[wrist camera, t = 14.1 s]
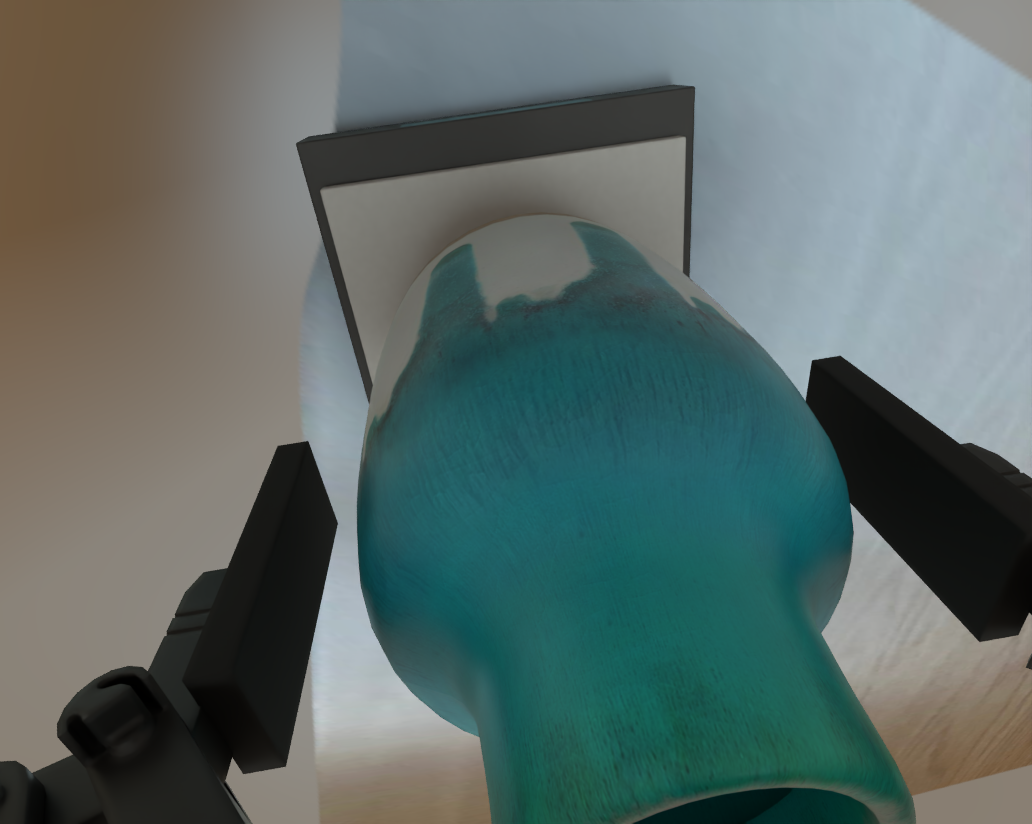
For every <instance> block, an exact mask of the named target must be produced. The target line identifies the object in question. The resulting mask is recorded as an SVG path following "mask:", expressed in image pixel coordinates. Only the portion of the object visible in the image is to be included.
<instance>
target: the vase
mask: <svg viewBox="0 0 1032 824" xmlns="http://www.w3.org/2000/svg"><path fill="white" fill-rule="evenodd" d="M853 534H854V531H853V523H852V515H851V507H850V500H849V493H848V488H847V483H846V479H845V476H844V474H843V471H842V468H841V465H840V463H839V460H838V457H837V454H836V452H835V450H834V447H833V445H832V443H831V441H830V439H829V437H828V435H827V434H826V432H825V431H824V429H823V428H822V426H821V425H820V423H819V421H818V420H817V418H816V417H815V415H814V414H813V412H812V411H811V409H810V408H809V406H808V405H807V403H806V402H805V400H804V398H803V397H802V395H801V394H800V392H799V391H798V390H797V388H796V387H795V386H794V384H793V383H792V382H791V380H790V379H789V378H788V377H787V375H786V374H785V373H784V371H783V370H782V369H781V368H780V367H779V365H778V364H777V363H776V362H775V361H774V360H773V359H772V357H771V356H770V355H769V354H768V353H767V352H766V351H765V350H764V348H763V347H762V346H761V345H760V344H759V343H758V342H757V341H756V340H755V339H754V338H753V337H752V336H751V335H750V334H749V333H748V332H747V331H746V330H745V329H744V328H743V327H742V326H741V325H740V324H739V323H737V322H736V321H735V320H734V319H733V318H732V317H731V316H730V315H729V314H728V313H727V312H726V311H725V310H724V309H723V308H722V307H721V306H720V305H719V304H718V303H717V302H716V301H715V300H714V299H713V298H711V297H710V296H709V295H708V294H707V293H706V292H705V291H704V290H703V289H702V288H700V287H699V286H698V285H697V284H696V283H695V282H693V281H692V280H691V279H690V278H688V277H687V276H686V275H685V274H684V273H682V272H681V271H680V270H679V269H677V268H676V267H674V266H673V265H672V264H670V263H669V262H667V261H666V260H665V259H663V258H662V257H660V256H659V255H657V254H656V253H654V252H653V251H651V250H650V249H648V248H647V247H645V246H644V245H642V244H641V243H639V242H637V241H636V240H634V239H632V238H630V237H629V236H627V235H625V234H623V233H621V232H618V231H616V230H614V229H612V228H609V227H607V226H605V225H603V224H600V223H598V222H595V221H592V220H589V219H585V218H581V217H576V216H572V215H568V214H559V213H546V212H538V213H527V214H516V215H513V216H509V217H505V218H501V219H497V220H493V221H490V222H488V223H486V224H484V225H481V226H479V227H477V228H474V229H472V230H470V231H468V232H466V233H465V234H463V235H462V236H460V237H459V238H457V239H455V240H454V241H452V242H451V243H449V244H448V245H447V246H446V247H444V248H443V249H442V250H441V251H440V252H439V253H438V254H437V255H436V256H434V257H433V258H432V259H431V260H430V261H429V262H428V264H427V265H426V266H425V267H424V269H423V270H422V271H421V272H420V274H419V275H418V276H417V277H416V279H415V280H414V281H413V283H412V284H411V286H410V288H409V290H408V291H407V293H406V295H405V297H404V299H403V300H402V302H401V304H400V306H399V308H398V310H397V312H396V314H395V317H394V319H393V322H392V324H391V327H390V330H389V332H388V335H387V338H386V341H385V344H384V347H383V350H382V352H381V356H380V359H379V362H378V366H377V369H376V373H375V378H374V383H373V388H372V392H371V398H370V404H369V410H368V416H367V422H366V428H365V435H364V441H363V447H362V454H361V463H360V471H359V479H358V496H357V536H358V558H359V572H360V583H361V589H362V593H363V597H364V601H365V604H366V608H367V612H368V616H369V619H370V623H371V627H372V629H373V631H374V633H375V635H376V637H377V639H378V641H379V643H380V645H381V647H382V649H383V651H384V653H385V654H386V656H387V658H388V660H389V662H390V664H391V666H392V668H393V670H394V671H395V673H396V674H397V675H398V676H399V678H400V679H401V680H402V681H403V682H404V684H405V685H406V686H407V687H408V689H409V690H410V691H411V692H412V693H413V694H414V695H415V696H416V697H418V698H419V699H420V700H421V701H422V702H423V703H425V704H426V705H427V706H428V707H429V708H431V709H432V710H433V711H434V712H435V713H436V714H438V715H439V716H440V717H441V718H443V719H445V720H446V721H448V722H450V723H452V724H453V725H455V726H457V727H458V728H460V729H462V730H463V731H466V732H468V733H471V734H473V735H476V736H478V737H480V742H481V749H482V755H483V761H484V768H485V775H486V782H487V789H488V796H489V803H490V812H491V821H492V824H916V818H915V817H916V816H915V808H914V803H913V798H912V796H911V794H910V792H909V790H908V787H907V785H906V783H905V781H904V779H903V777H902V775H901V773H900V771H899V769H898V767H897V764H896V762H895V761H894V759H893V757H892V756H891V754H890V752H889V751H888V749H887V747H886V745H885V744H884V742H883V740H882V739H881V737H880V735H879V734H878V732H877V730H876V728H875V727H874V725H873V723H872V722H871V720H870V719H869V717H868V715H867V714H866V712H865V710H864V709H863V707H862V705H861V704H860V702H859V700H858V699H857V697H856V695H855V694H854V692H853V690H852V688H851V686H850V685H849V683H848V681H847V679H846V678H845V676H844V674H843V672H842V671H841V669H840V667H839V665H838V663H837V662H836V660H835V658H834V656H833V654H832V652H831V651H830V649H829V647H828V645H827V643H826V642H825V640H824V638H823V636H822V634H821V632H822V631H823V630H824V628H825V627H826V625H827V624H828V622H829V620H830V618H831V616H832V614H833V612H834V610H835V608H836V606H837V604H838V602H839V600H840V598H841V594H842V591H843V588H844V584H845V581H846V578H847V574H848V570H849V566H850V562H851V555H852V545H853Z"/></svg>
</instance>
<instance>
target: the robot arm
mask: <svg viewBox="0 0 1032 824" xmlns="http://www.w3.org/2000/svg"><path fill="white" fill-rule="evenodd" d="M806 403H807V405H808V406H809V408H810V409H811V411H812V412H813V414H814V415H815V417H816V418H817V420H818V421H819V423H820V425H821V426H822V428H823V429H824V431H825V432H826V434H827V435H828V437H829V439H830V441H831V443H832V445H833V447H834V450H835V452H836V454H837V457H838V460H839V463H840V465H841V468H842V471H843V474H844V476H845V479H846V483H847V488H848V493H849V500H850V503H851V504H852V505H853V506H854V507H855V508H856V509H857V510H858V512H859V513H860V514H861V515H862V516H863V517H864V518H865V519H866V520H867V521H868V522H869V523H870V524H871V526H872V527H873V528H874V529H875V530H876V531H877V532H878V533H879V534H880V535H881V536H882V537H883V538H884V540H885V541H886V542H887V543H888V544H889V545H890V546H891V547H892V548H893V549H894V550H895V551H896V552H897V554H898V555H899V556H900V557H901V558H902V559H903V560H904V561H905V562H906V563H907V564H908V565H909V567H910V568H911V569H912V570H913V571H914V572H915V573H916V574H917V575H918V576H919V577H920V578H921V579H922V581H923V582H924V583H925V584H926V585H927V586H928V587H929V588H930V589H931V590H932V591H933V592H934V593H935V595H936V596H937V597H938V598H939V599H940V600H941V601H942V602H943V603H944V604H945V605H946V606H947V607H948V609H949V610H950V611H951V612H952V613H953V614H954V615H955V616H956V617H957V618H958V619H959V620H960V621H961V623H962V624H963V625H964V626H965V627H966V628H967V629H968V630H969V631H970V632H971V633H972V634H973V635H974V637H975V638H976V639H977V640H978V641H979V642H982V641H988V640H993V639H999V638H1005V637H1010V636H1016V635H1019V632H1020V630H1021V628H1022V626H1023V624H1024V622H1025V620H1026V618H1027V616H1028V614H1029V613H1030V614H1031V615H1032V478H1030V477H1029V476H1028V475H1026V474H1025V473H1020V471H1019V469H1018V468H1016V467H1015V466H1013V465H1012V464H1011V463H1009V462H1008V461H1006V460H1005V459H1004V458H1002V457H1001V456H999V455H998V454H995V453H993V452H991V451H988V450H986V449H984V448H981V447H979V446H977V445H974V444H972V443H966V444H959V443H958V442H956V441H955V440H954V439H952V438H951V437H950V436H948V435H947V434H946V433H944V432H943V431H941V430H940V429H939V428H937V427H936V426H935V425H933V424H932V423H931V422H929V421H928V420H927V419H925V418H924V417H923V416H921V415H920V414H918V413H917V412H916V411H914V410H913V409H912V408H910V407H909V406H908V405H906V404H905V403H904V402H902V401H901V400H900V399H898V398H897V397H895V396H894V395H893V394H891V393H890V392H889V391H887V390H886V389H885V388H883V387H882V386H881V385H879V384H878V383H877V382H875V381H874V380H872V379H871V378H870V377H868V376H867V375H866V374H864V373H863V372H862V371H860V370H859V369H858V368H856V367H855V366H854V365H852V364H851V363H849V362H848V361H847V360H845V359H844V358H843V357H841V356H837V357H830V358H824V359H818V360H812V364H811V370H810V377H809V383H808V390H807V396H806ZM337 525H338V522H337V520H336V517H335V514H334V511H333V509H332V506H331V503H330V500H329V497H328V495H327V492H326V489H325V486H324V484H323V481H322V478H321V475H320V472H319V470H318V467H317V464H316V461H315V459H314V456H313V453H312V450H311V447H310V445H309V442H308V441H306V442H300V443H293V444H287V445H281V446H278V447H277V449H276V452H275V454H274V457H273V459H272V461H271V464H270V466H269V469H268V471H267V474H266V476H265V478H264V481H263V483H262V486H261V488H260V491H259V493H258V496H257V498H256V501H255V503H254V505H253V508H252V510H251V513H250V515H249V517H248V520H247V522H246V525H245V527H244V530H243V532H242V534H241V537H240V539H239V542H238V544H237V547H236V549H235V551H234V554H233V556H232V559H231V561H230V564H229V566H228V568H226V569H220V570H215V571H208V572H204V573H203V574H202V575H201V576H200V577H199V578H198V579H197V580H196V581H195V583H193V584H192V586H191V587H190V588H189V589H188V590H187V591H186V592H185V594H184V596H183V598H182V600H181V602H180V604H179V607H178V609H177V611H176V613H175V618H173V619H172V621H171V623H170V626H169V628H168V630H167V636H165V637H164V638H163V640H162V642H161V645H160V647H159V649H158V651H157V653H156V655H155V657H154V660H153V662H152V664H151V666H150V668H149V670H148V671H146V670H145V669H144V668H143V667H133V666H127V667H123V668H119V669H115V670H111V671H110V672H108V673H106V674H104V675H102V676H100V677H98V678H96V679H94V680H93V681H92V682H90V683H89V684H88V685H87V686H85V687H84V688H83V689H81V690H80V691H79V692H78V693H77V694H76V695H75V696H74V697H73V699H72V700H71V701H70V702H69V703H68V705H67V706H66V707H65V708H64V710H63V712H62V714H61V717H60V719H59V721H58V723H57V736H58V738H59V739H60V740H61V741H62V743H63V744H64V745H65V746H66V747H67V748H68V749H69V750H70V751H71V753H72V754H73V755H71V756H69V757H67V758H65V759H62V760H60V761H58V762H56V763H54V764H51V765H49V766H47V767H45V768H42V769H41V770H38V771H36V772H33V773H31V772H30V771H29V770H28V769H27V768H26V767H25V766H23V765H22V764H20V763H18V762H17V761H4V762H0V824H252V822H251V820H250V819H249V818H248V816H247V814H246V812H245V811H244V809H243V808H242V806H241V805H240V803H239V801H238V800H237V798H236V796H235V795H234V793H233V792H232V790H231V788H230V787H229V785H228V784H227V783H226V781H225V780H226V776H227V773H228V770H229V766H230V762H231V759H232V757H233V759H234V760H235V762H236V764H237V765H238V767H239V768H240V770H241V771H242V773H243V774H247V773H253V772H258V771H264V770H269V769H275V768H281V767H285V766H286V763H287V759H288V754H289V749H290V745H291V740H292V735H293V731H294V726H295V721H296V717H297V712H298V707H299V702H300V698H301V693H302V688H303V683H304V679H305V674H306V670H307V665H308V660H309V656H310V651H311V646H312V642H313V637H314V632H315V628H316V623H317V618H318V614H319V609H320V604H321V600H322V595H323V590H324V586H325V581H326V576H327V571H328V567H329V562H330V557H331V553H332V548H333V543H334V539H335V534H336V529H337ZM1026 668H1029V669H1032V654H1031V656H1030V658H1029V660H1028V663H1027V666H1026Z"/></svg>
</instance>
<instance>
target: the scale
mask: <svg viewBox="0 0 1032 824" xmlns="http://www.w3.org/2000/svg"><path fill="white" fill-rule="evenodd" d="M694 102H695V87H694V86H682V85H669V86H662V87H655V88H648V89H641V90H634V91H627V92H619V93H612V94H605V95H598V96H591V97H584V98H577V99H570V100H563V101H556V102H549V103H542V104H535V105H528V106H521V107H514V108H507V109H500V110H493V111H485V112H478V113H471V114H464V115H457V116H450V117H443V118H436V119H429V120H422V121H415V122H408V123H401V124H394V125H387V126H380V127H373V128H366V129H359V130H351V131H344V132H337V133H330V134H324V135H316V136H310V137H307V138H305V139H303V140H301V141H300V142H298V143H296V146H297V150H298V153H299V157H300V160H301V164H302V168H303V171H304V175H305V178H306V182H307V185H308V188H309V192H310V196H311V199H312V203H313V206H314V210H315V213H316V217H317V221H318V224H319V228H320V231H321V235H322V238H323V242H324V246H325V249H326V253H327V256H328V260H329V263H330V267H331V270H332V274H333V278H334V281H335V285H336V288H337V292H338V295H339V299H340V302H341V306H342V309H343V313H344V317H345V320H346V324H347V327H348V331H349V334H350V338H351V341H352V345H353V348H354V352H355V356H356V359H357V363H358V366H359V370H360V373H361V377H362V380H363V384H364V387H365V391H366V395H367V398H368V402H369V404H370V398H371V392H372V388H373V383H374V378H375V373H376V369H377V366H378V362H379V359H380V356H381V352H382V350H383V347H384V344H385V341H386V338H387V335H388V332H389V330H390V327H391V324H392V322H393V319H394V317H395V314H396V312H397V310H398V308H399V306H400V304H401V302H402V300H403V299H404V297H405V295H406V293H407V291H408V290H409V288H410V286H411V284H412V283H413V281H414V280H415V279H416V277H417V276H418V275H419V274H420V272H421V271H422V270H423V269H424V267H425V266H426V265H427V264H428V262H429V261H430V260H431V259H432V258H433V257H434V256H436V255H437V254H438V253H439V252H440V251H441V250H442V249H443V248H444V247H446V246H447V245H448V244H449V243H451V242H452V241H454V240H455V239H457V238H459V237H460V236H462V235H463V234H465V233H466V232H468V231H470V230H472V229H474V228H477V227H479V226H481V225H484V224H486V223H488V222H490V221H493V220H497V219H501V218H505V217H509V216H513V215H516V214H527V213H538V212H546V213H559V214H568V215H572V216H576V217H581V218H585V219H589V220H592V221H595V222H598V223H600V224H603V225H605V226H607V227H609V228H612V229H614V230H616V231H618V232H621V233H623V234H625V235H627V236H629V237H630V238H632V239H634V240H636V241H637V242H639V243H641V244H642V245H644V246H645V247H647V248H648V249H650V250H651V251H653V252H654V253H656V254H657V255H659V256H660V257H662V258H663V259H665V260H666V261H667V262H669V263H670V264H672V265H673V266H674V267H676V268H677V269H679V270H680V271H681V272H682V273H684V274H685V275H686V276H687V277H688V278H689V273H690V239H691V205H692V170H693V136H694Z"/></svg>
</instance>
